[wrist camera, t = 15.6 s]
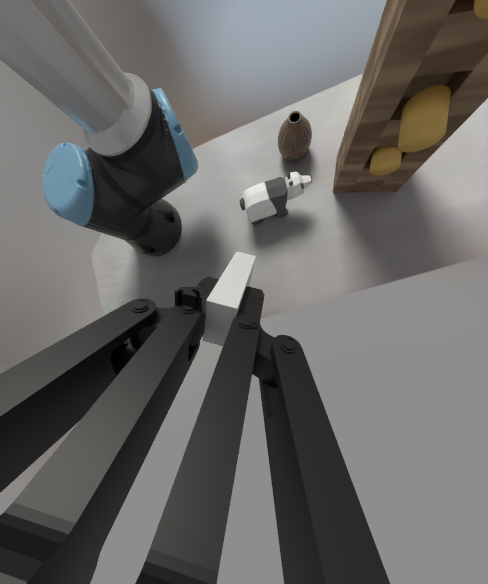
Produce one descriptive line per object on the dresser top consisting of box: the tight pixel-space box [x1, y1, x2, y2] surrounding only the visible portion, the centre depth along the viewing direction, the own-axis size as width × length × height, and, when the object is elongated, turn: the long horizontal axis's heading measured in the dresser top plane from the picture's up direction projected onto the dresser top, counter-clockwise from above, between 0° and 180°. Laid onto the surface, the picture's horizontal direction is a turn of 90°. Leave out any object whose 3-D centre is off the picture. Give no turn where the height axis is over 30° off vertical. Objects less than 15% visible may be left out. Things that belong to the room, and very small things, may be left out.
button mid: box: [398, 85, 451, 152], centre depth 22 cm, size 4×4×4 cm
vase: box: [278, 111, 312, 161], centre depth 40 cm, size 7×7×9 cm
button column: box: [333, 0, 488, 192], centre depth 24 cm, size 8×13×34 cm, turn 83°
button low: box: [370, 146, 402, 176], centre depth 31 cm, size 4×4×4 cm
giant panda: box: [240, 171, 312, 225], centre depth 40 cm, size 15×6×10 cm, turn 104°
